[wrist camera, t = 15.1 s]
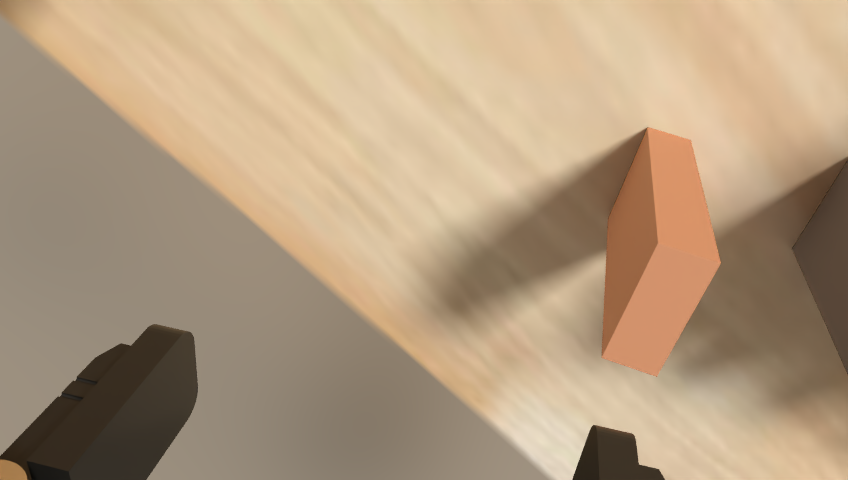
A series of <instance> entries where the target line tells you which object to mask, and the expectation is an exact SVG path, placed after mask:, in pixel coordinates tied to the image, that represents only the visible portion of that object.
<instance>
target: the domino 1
mask: <svg viewBox="0 0 848 480" xmlns="http://www.w3.org/2000/svg"><path fill="white" fill-rule="evenodd" d="M720 264H721V261H720V257H719V253H718V249H717V245H716V241H715V237H714V233H713V229H712V225H711V221H710V216H709V212H708V208H707V204H706V200H705V196H704V192H703V188H702V184H701V180H700V176H699V172H698V168H697V163H696V159H695V155H694V151H693V147H692V143H691V140H688V139H685V138H682V137H678V136H675V135H672V134H668V133H665V132H662V131H658V130H655V129H652V128H647V130H646V132H645V135H644V137H643V139H642V141H641V144H640V146H639V148H638V151H637V153H636V155H635V158H634V160H633V162H632V165H631V167H630V169H629V172H628V174H627V176H626V179H625V181H624V183H623V185H622V188H621V190H620V192H619V195H618V197H617V199H616V202H615V204H614V206H613V209H612V211H611V213H610V216H609V218H608V232H607V253H606V275H605V296H604V318H603V339H602V358H604V359H607V360H610V361H613V362H616V363H619V364H621V365H624V366H627V367H630V368H633V369H636V370H639V371H642V372H645V373H648V374H651V375H653V376H656V377H657V375H658V373H659V372H660V370H661V368H662V366H663V365H664V363H665V361H666V359H667V358H668V356H669V354H670V352H671V351H672V349H673V347H674V345H675V344H676V342H677V340H678V338H679V336H680V335H681V333H682V331H683V329H684V328H685V326H686V324H687V322H688V321H689V319H690V317H691V315H692V314H693V312H694V310H695V308H696V306H697V305H698V303H699V301H700V299H701V298H702V296H703V294H704V292H705V291H706V289H707V287H708V285H709V284H710V282H711V280H712V278H713V276H714V275H715V273H716V271H717V269H718V268H719V266H720Z"/></svg>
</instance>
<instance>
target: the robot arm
mask: <svg viewBox="0 0 848 480" xmlns="http://www.w3.org/2000/svg"><path fill="white" fill-rule="evenodd" d="M197 392H198V383H197V371H196V358H195V345H194V337H193V335H192V333H191V332H188V331H183V330H179V329H174V328H170V327H165V326H161V325H157V324H154V325H151V326H149V327H148V328H147V329H146V330H145V331H144V332H143V333H142V335H141V336H140V337H139V338H138V339H137V340H136V341H135V342H134V343H133V344H132V345H131V346H129V345H126V344H119V345H117V346H116V347H114V348H112V349H110V350H108V351H107V352H105V353H103V354H101V355H99V356H98V357H96V358H95V359H94V360H93V361H92V362H91V363H90V364H89V365H88V366H87V367H86V368H85V369H84V370H83V371H82V372H81V373H80V374H79V375H78V376H77V379H76V381H73V382H71V383H70V384H69V386H68V387H67V388H66V389H65V390H64V391H63V392H62V395H61V396H60V397H57V398H56V399H55V400H54V401H53V402H52V403H51V404H50V405H49V406H48V408H46V409H45V411H44V412H43V413H42V414H41V415H40V416H39V417H38V418H37V419H36V420H35V421H34V422H33V423H32V424H31V425H30V426H29V427H28V428H27V429H26V430H25V431H24V432H23V433H22V434H21V435H20V436H19V437H18V439H16V441H14V443H13V444H12V445H11V446H10V447H9V448H8V449H7V450H6V451H5V452H4V453H3V454H2V455H1V456H0V480H146V479H147V478H148V476H149V475H150V473H151V472H152V471H153V469H154V468H155V466H156V465H157V463H158V462H159V460H160V459H161V457H162V456H163V455H164V453H165V452H166V450H167V449H168V447H169V446H170V444H171V443H172V442H173V440H174V439H175V437H176V436H177V434H178V433H179V431H180V430H181V428H182V427H183V426H184V424H185V422H186V421H187V420H188V418H189V416H190V415H191V413H192V410H193V408H194V405H195V402H196V398H197ZM573 480H665V479H664V477H663V476H662V474H661V472H660V471H659V469H655V468H651V467H647V466H642V465H639V463H638V455H637V446H636V439H635V436H634V435H633V434H631V433H627V432H622V431H618V430H614V429H609V428H605V427H600V426H596V425H593V426H592V427H591V429H590V432H589V434H588V437H587V440H586V443H585V446H584V448H583V451H582V454H581V457H580V460H579V462H578V465H577V468H576V471H575V474H574V476H573Z"/></svg>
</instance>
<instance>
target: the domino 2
mask: <svg viewBox="0 0 848 480" xmlns="http://www.w3.org/2000/svg"><path fill="white" fill-rule="evenodd" d="M792 250H793V252H794V254H795V257H796V259H797V261H798V263H799V266H800V268H801V270H802V272H803V275H804V277H805V279H806V281H807V284H808V286H809V288H810V290H811V293H812V295H813V297H814V299H815V302H816V304H817V306H818V308H819V311H820V313H821V315H822V317H823V320H824V322H825V324H826V326H827V329H828V331H829V333H830V335H831V338H832V340H833V342H834V344H835V347H836V349H837V351H838V353H839V356H840V358H841V360H842V362H843V365H844V367H845V369H846V371H847V374H848V161H847V162H846V164H845V166H844V167H843V169H842V170H841V172H840V174H839V175H838V177H837V178H836V180H835V181H834V183H833V185H832V186H831V188H830V189H829V191H828V193H827V194H826V196H825V197H824V199H823V201H822V202H821V204H820V205H819V207H818V209H817V210H816V212H815V213H814V215H813V216H812V218H811V220H810V221H809V223H808V224H807V226H806V228H805V229H804V231H803V232H802V234H801V236H800V237H799V239H798V240H797V242H796V244H795V245H794V247H793V248H792Z"/></svg>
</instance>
